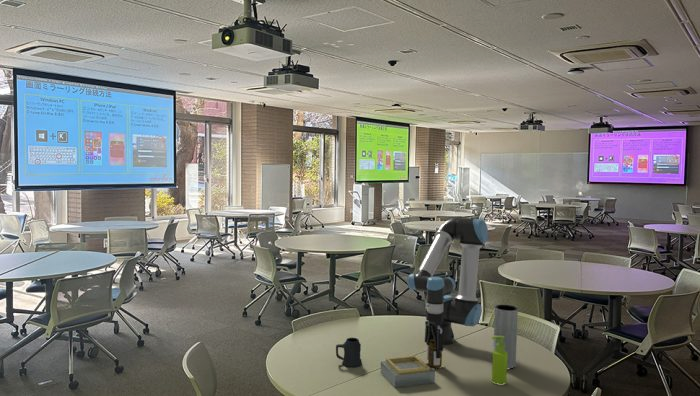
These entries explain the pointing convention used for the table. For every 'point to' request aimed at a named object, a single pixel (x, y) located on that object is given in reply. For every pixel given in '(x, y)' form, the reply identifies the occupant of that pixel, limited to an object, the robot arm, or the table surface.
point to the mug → (350, 353)
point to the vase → (506, 330)
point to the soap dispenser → (499, 362)
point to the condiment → (431, 356)
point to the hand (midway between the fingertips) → (433, 361)
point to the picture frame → (407, 371)
